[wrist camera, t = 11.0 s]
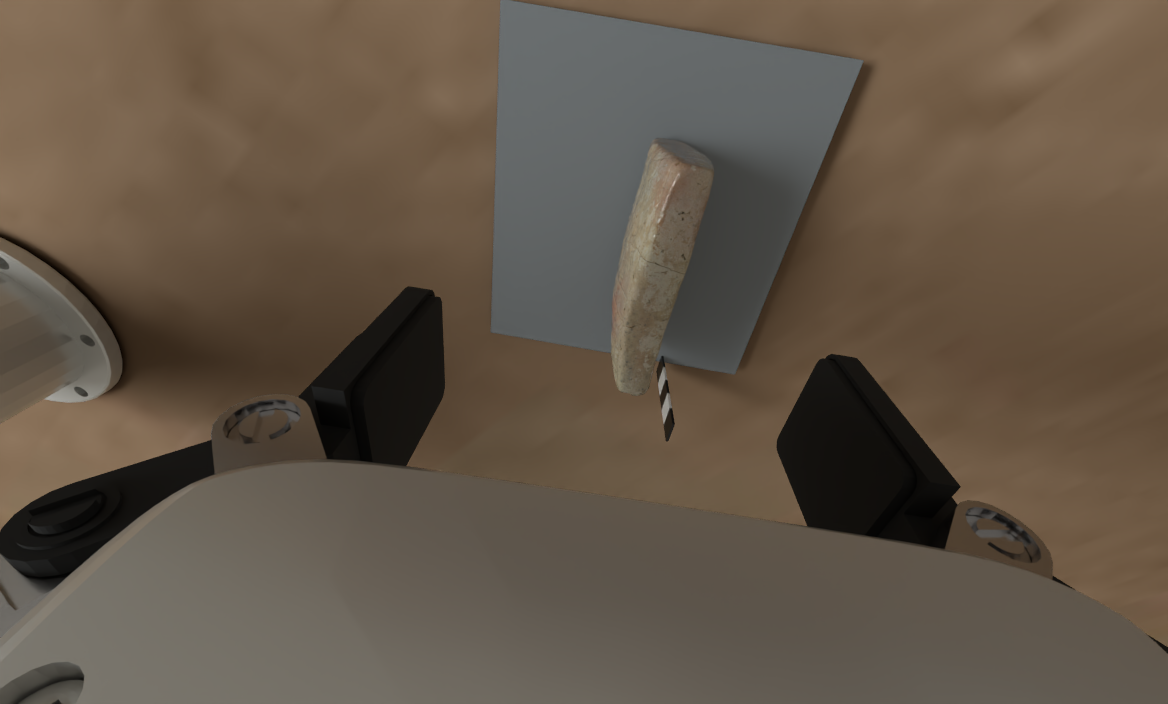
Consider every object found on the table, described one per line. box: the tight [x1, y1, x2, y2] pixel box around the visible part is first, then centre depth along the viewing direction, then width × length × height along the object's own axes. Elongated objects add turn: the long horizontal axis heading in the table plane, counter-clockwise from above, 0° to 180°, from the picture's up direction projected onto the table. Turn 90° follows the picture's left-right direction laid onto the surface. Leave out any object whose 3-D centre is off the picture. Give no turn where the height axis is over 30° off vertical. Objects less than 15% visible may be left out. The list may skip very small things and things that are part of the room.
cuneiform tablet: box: [611, 138, 714, 441], centre depth 20 cm, size 6×4×12 cm
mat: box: [491, 0, 864, 374], centre depth 21 cm, size 14×15×1 cm
